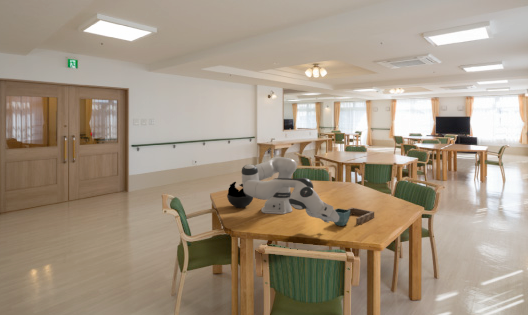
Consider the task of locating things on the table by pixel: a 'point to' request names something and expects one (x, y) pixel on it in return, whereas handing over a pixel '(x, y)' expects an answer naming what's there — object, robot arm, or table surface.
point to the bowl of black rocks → (238, 196)
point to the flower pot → (342, 216)
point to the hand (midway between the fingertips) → (327, 221)
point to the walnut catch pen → (361, 215)
